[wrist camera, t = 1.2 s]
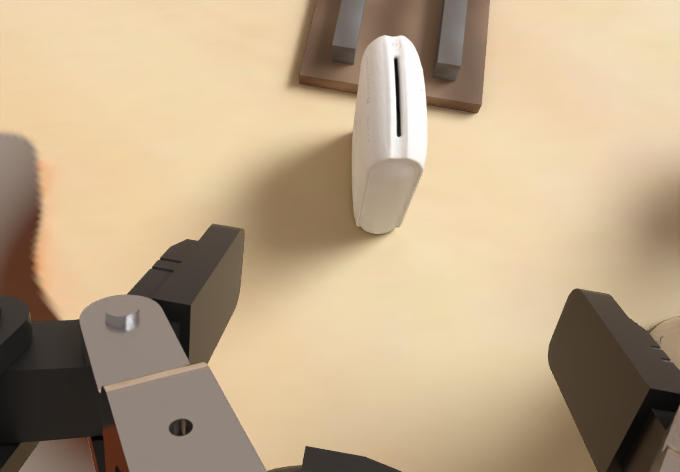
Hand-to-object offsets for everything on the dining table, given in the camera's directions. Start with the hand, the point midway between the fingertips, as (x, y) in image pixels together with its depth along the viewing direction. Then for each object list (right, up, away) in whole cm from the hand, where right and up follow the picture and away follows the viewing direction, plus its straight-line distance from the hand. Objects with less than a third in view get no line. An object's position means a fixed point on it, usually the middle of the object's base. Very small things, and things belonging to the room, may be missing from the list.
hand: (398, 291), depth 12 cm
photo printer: (+2, +6, +30) cm, 31 cm away
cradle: (+4, +23, +36) cm, 43 cm away
